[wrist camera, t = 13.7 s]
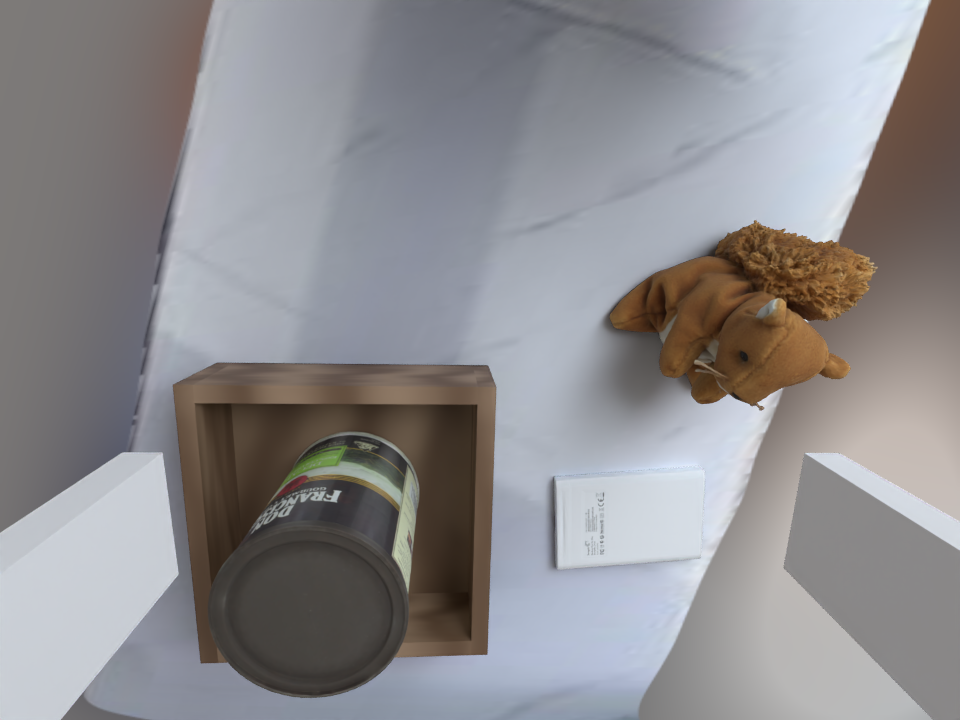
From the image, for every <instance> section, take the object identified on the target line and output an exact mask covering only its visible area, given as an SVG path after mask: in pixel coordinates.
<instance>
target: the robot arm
mask: <svg viewBox="0 0 960 720" xmlns="http://www.w3.org/2000/svg"><path fill="white" fill-rule="evenodd" d="M784 569H785V570H786V571H787V572H788V573H789V574H790V575H791V576H792V577H793V578H794V579H795V580H796V581H797V582H798V583H799V584H800V585H801V586H802V587H803V588H804V589H805V590H806V591H807V592H808V593H809V594H810V595H811V596H812V597H813V598H814V599H815V600H816V601H817V602H818V603H819V604H820V605H821V606H822V607H823V609H825V610H826V611H827V613H829V615H830V616H831V617H832V618H833V619H834V620H835V621H836V622H837V623H838V624H839V625H840V626H841V627H842V628H843V629H844V630H845V631H846V632H847V633H848V634H849V635H850V636H851V637H852V638H853V639H854V640H855V641H856V642H857V643H858V644H859V645H860V646H861V647H862V648H863V649H864V650H865V651H866V652H867V653H868V654H869V655H870V656H871V657H872V658H873V659H874V660H875V661H876V662H877V663H878V664H879V665H880V666H881V667H882V668H883V669H884V670H885V672H887V673H888V674H889V675H890V676H891V678H892V679H893V680H895V682H896V683H897V684H898V685H899V686H900V687H901V688H902V689H903V690H904V691H906V693H907V694H908V695H909V696H910V697H911V698H912V699H913V700H914V701H915V702H916V703H917V704H918V705H919V706H920V707H921V708H922V709H923V710H924V711H925V712H926V713H927V714H928V715H929V716H930V717H931V718H932V719H933V720H960V522H959V521H958V520H956V519H954V518H952V517H951V516H949V515H947V514H945V513H944V512H942V511H940V510H938V509H937V508H934V507H933V506H931V505H930V504H928V503H926V502H924V501H923V500H921V499H919V498H917V497H916V496H914V495H912V494H910V493H909V492H907V491H905V490H903V489H902V488H900V487H898V486H896V485H894V484H893V483H891V482H889V481H888V480H886V479H884V478H882V477H880V476H879V475H877V474H875V473H873V472H871V471H870V470H868V469H866V468H865V467H863V466H861V465H859V464H858V463H856V462H854V461H852V460H851V459H849V458H847V457H845V456H844V455H842V454H840V453H805V454H804V458H803V464H802V469H801V475H800V480H799V486H798V491H797V497H796V502H795V508H794V513H793V519H792V524H791V530H790V536H789V541H788V547H787V552H786V557H785V562H784ZM178 575H179V573H178V565H177V558H176V550H175V543H174V535H173V528H172V520H171V512H170V505H169V497H168V490H167V482H166V474H165V467H164V459H163V452H123V453H121V454H119V455H118V456H116V457H115V458H114V459H112V460H110V461H109V462H107V463H106V464H104V465H103V466H101V467H100V468H98V469H97V470H95V471H94V472H92V473H91V474H89V475H87V476H86V477H84V478H83V479H81V480H80V481H78V482H77V483H75V484H74V485H72V486H71V487H69V488H68V489H66V490H65V491H63V492H62V493H60V494H59V495H57V496H56V497H54V498H53V499H51V500H49V501H48V502H46V503H45V504H43V505H42V506H40V507H39V508H37V509H36V510H34V511H33V512H31V513H30V514H28V515H27V516H25V517H24V518H22V519H20V520H19V521H18V522H16V523H15V524H13V525H11V526H10V527H8V528H7V529H5V530H4V531H2V532H1V533H0V720H61V719H62V717H63V716H64V715H65V714H66V713H67V711H68V710H69V709H70V708H71V706H72V705H73V704H74V703H75V702H76V700H77V699H78V698H79V697H80V695H81V694H82V693H83V692H84V690H85V689H86V688H87V687H88V686H89V684H90V683H91V682H92V681H93V679H94V678H95V677H96V676H97V674H98V673H99V672H100V671H101V669H102V668H103V667H104V666H105V665H106V663H107V662H108V661H109V660H110V658H111V657H112V656H113V655H114V653H115V652H116V651H117V650H118V649H119V647H120V646H121V645H122V644H123V642H124V641H125V640H126V639H127V637H128V636H129V635H130V634H131V633H132V631H133V630H134V629H135V628H136V626H137V625H138V624H139V623H140V621H141V620H142V619H143V618H144V617H145V615H146V614H147V613H148V612H149V610H150V609H151V608H152V607H153V605H154V604H155V603H156V602H157V600H158V599H159V598H160V597H161V596H162V594H163V593H164V592H165V591H166V589H167V588H168V587H169V586H170V584H171V583H172V582H173V581H174V580H175V578H176V577H177V576H178Z"/></svg>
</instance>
